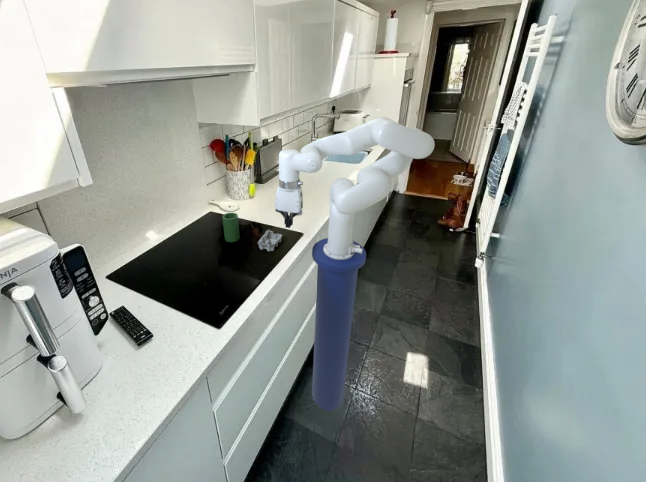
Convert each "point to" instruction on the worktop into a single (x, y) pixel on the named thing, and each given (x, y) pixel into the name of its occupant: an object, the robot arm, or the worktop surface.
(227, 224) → the green hollow cylinder
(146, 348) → the worktop surface
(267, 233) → the egg carton
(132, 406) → the worktop surface
